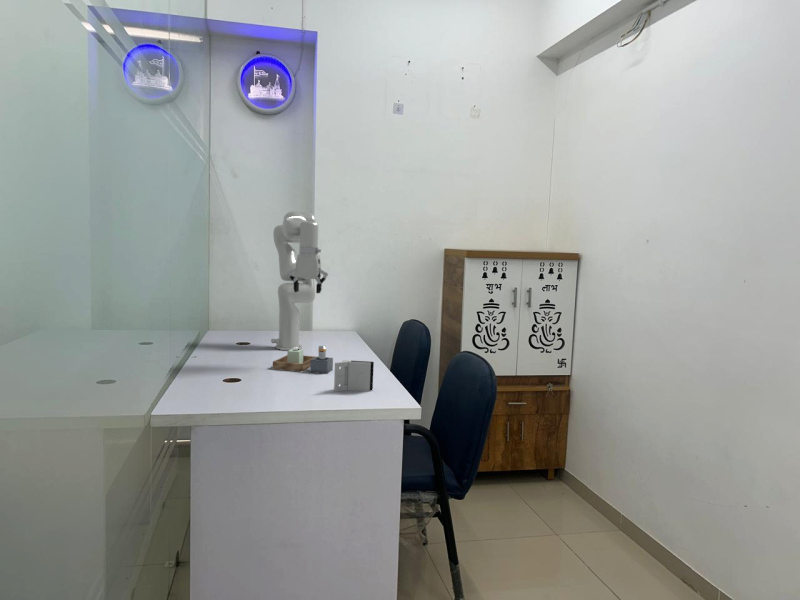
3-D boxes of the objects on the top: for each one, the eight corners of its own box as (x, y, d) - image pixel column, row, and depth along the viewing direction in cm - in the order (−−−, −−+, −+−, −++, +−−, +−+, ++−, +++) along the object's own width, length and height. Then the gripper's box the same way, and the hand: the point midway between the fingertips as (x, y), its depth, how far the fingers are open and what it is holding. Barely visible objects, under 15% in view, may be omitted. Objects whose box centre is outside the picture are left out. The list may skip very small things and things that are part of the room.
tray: (272, 369, 227) (272, 361, 226) (288, 361, 243) (288, 354, 243) (302, 371, 224) (302, 364, 224) (316, 363, 240) (316, 356, 240)
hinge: (334, 391, 196) (334, 363, 195) (332, 387, 201) (333, 360, 201) (373, 391, 199) (374, 363, 198) (371, 387, 204) (372, 360, 203)
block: (310, 372, 224) (310, 359, 223) (316, 368, 231) (316, 356, 230) (327, 373, 223) (327, 361, 222) (332, 370, 229) (333, 357, 229)
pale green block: (287, 365, 232) (287, 350, 231) (291, 363, 236) (292, 348, 236) (298, 366, 231) (299, 351, 230) (303, 364, 236) (303, 349, 235)
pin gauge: (316, 371, 226) (317, 346, 225) (319, 370, 228) (320, 345, 227) (323, 372, 225) (324, 347, 224) (326, 370, 228) (326, 346, 227)
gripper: (331, 252, 237) (329, 293, 239) (292, 250, 240) (291, 290, 242) (325, 252, 230) (324, 294, 231) (285, 250, 233) (284, 291, 235)
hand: (307, 292), depth 237 cm, fingers open, 9 cm apart
